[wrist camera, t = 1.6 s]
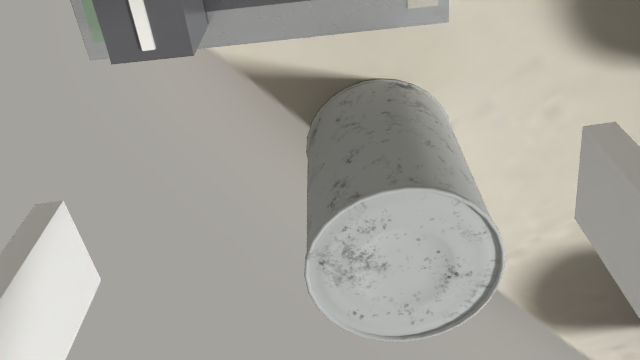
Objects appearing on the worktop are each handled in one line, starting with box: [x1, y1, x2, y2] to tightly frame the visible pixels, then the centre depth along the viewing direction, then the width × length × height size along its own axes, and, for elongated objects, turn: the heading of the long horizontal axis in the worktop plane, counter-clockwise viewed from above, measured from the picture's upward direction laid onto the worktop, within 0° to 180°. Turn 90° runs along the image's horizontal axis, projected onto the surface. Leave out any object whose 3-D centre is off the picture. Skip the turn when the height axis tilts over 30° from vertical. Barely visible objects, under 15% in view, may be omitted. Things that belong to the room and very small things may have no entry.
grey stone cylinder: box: [304, 79, 505, 342], centre depth 33 cm, size 10×10×12 cm
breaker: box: [92, 0, 208, 64], centre depth 29 cm, size 4×4×5 cm
